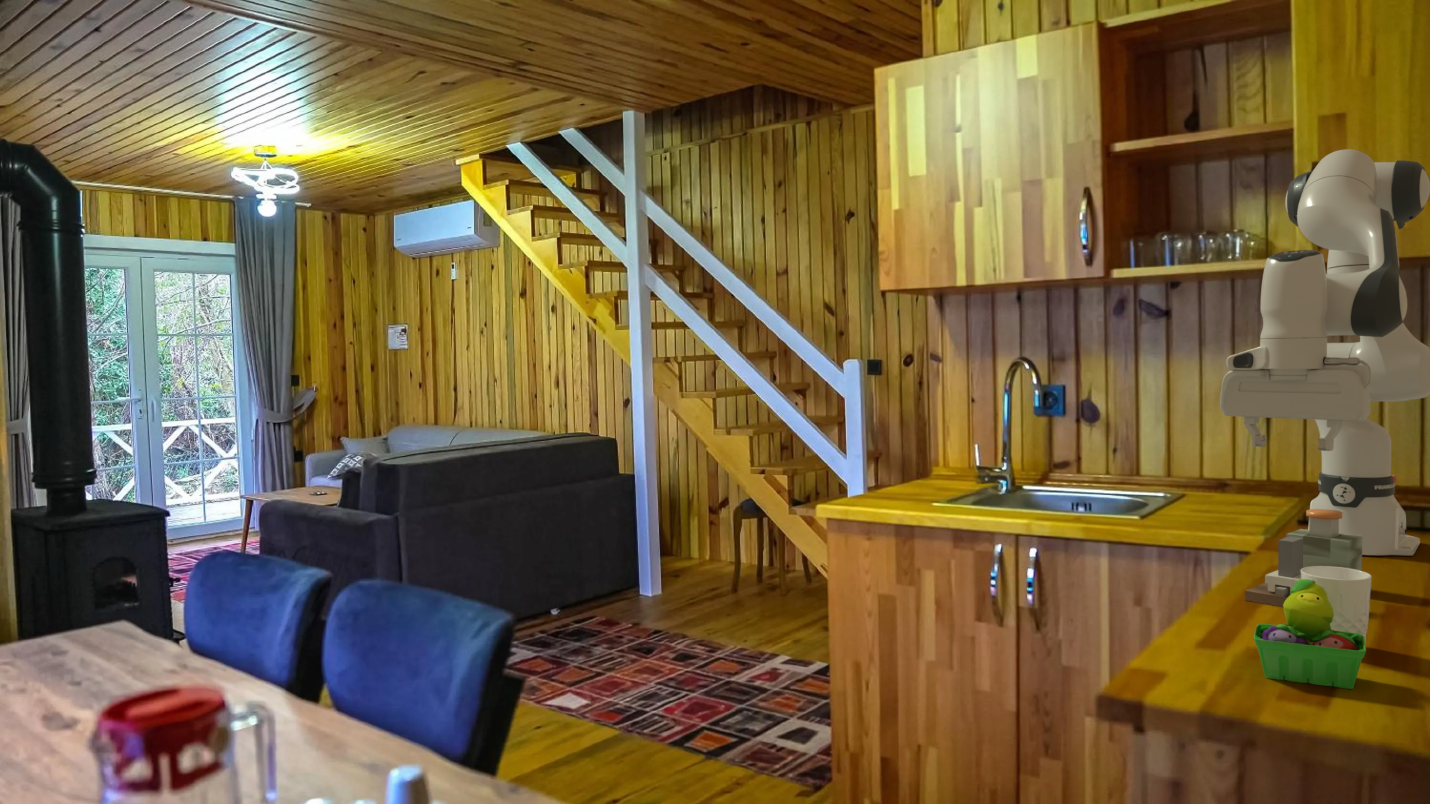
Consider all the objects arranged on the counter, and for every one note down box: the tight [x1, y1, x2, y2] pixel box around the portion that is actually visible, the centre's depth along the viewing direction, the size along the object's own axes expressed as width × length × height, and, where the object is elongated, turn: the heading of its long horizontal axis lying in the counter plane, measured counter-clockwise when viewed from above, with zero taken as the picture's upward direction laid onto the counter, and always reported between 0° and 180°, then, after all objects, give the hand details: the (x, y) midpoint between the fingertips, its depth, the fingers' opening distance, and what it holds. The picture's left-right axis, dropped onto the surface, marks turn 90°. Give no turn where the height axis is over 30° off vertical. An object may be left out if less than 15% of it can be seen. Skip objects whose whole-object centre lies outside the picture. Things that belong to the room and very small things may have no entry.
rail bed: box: [1244, 528, 1363, 607], centre depth 157 cm, size 20×10×8 cm, turn 129°
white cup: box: [1301, 566, 1372, 643], centre depth 131 cm, size 8×8×10 cm
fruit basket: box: [1253, 579, 1367, 690], centre depth 121 cm, size 11×9×11 cm
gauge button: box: [1305, 508, 1342, 538], centre depth 161 cm, size 5×5×4 cm
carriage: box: [1264, 536, 1303, 595], centre depth 154 cm, size 6×5×8 cm
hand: (1291, 448), depth 153 cm, fingers open, 8 cm apart
